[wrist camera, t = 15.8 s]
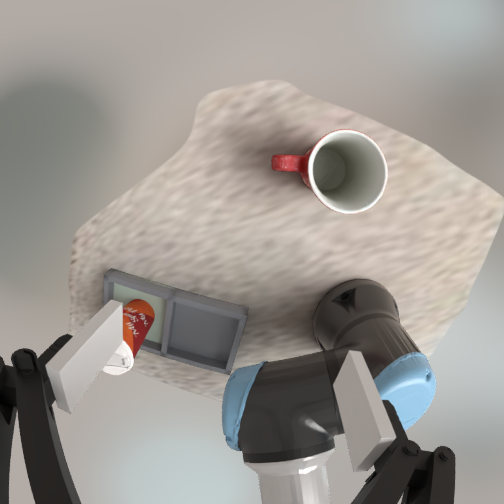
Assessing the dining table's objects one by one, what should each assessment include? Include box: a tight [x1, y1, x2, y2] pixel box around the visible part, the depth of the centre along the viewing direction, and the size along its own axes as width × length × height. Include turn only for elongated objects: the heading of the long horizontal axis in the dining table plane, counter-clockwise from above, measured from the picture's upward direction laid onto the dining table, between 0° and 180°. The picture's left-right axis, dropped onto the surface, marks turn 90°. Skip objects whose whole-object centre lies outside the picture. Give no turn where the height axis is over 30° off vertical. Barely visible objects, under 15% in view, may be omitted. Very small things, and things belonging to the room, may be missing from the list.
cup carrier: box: [103, 269, 248, 375], centre depth 49 cm, size 25×13×3 cm, turn 75°
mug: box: [272, 129, 388, 214], centre depth 35 cm, size 13×9×14 cm
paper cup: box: [102, 299, 155, 375], centre depth 43 cm, size 8×8×14 cm
